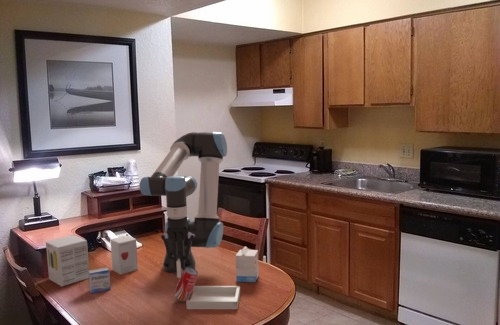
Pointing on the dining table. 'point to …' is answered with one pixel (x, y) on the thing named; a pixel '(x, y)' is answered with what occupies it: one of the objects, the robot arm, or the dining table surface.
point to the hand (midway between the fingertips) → (179, 276)
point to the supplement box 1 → (67, 260)
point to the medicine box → (99, 280)
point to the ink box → (247, 265)
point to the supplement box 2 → (124, 254)
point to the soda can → (186, 284)
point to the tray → (214, 297)
